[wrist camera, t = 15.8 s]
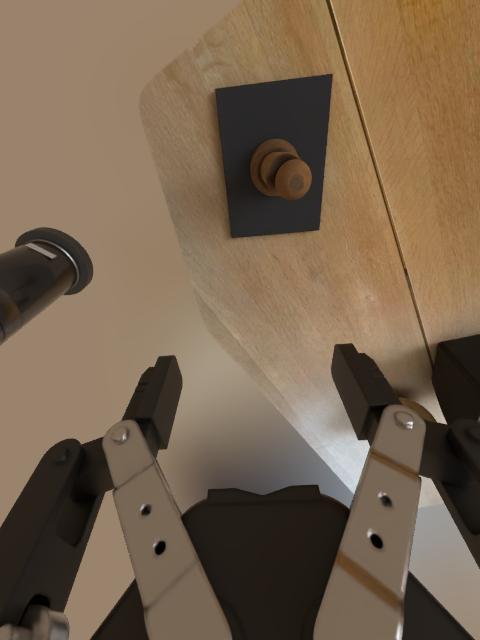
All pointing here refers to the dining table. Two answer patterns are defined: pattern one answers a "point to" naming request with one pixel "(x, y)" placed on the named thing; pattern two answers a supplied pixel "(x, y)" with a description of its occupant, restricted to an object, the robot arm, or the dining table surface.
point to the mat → (264, 124)
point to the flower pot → (458, 378)
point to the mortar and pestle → (279, 170)
